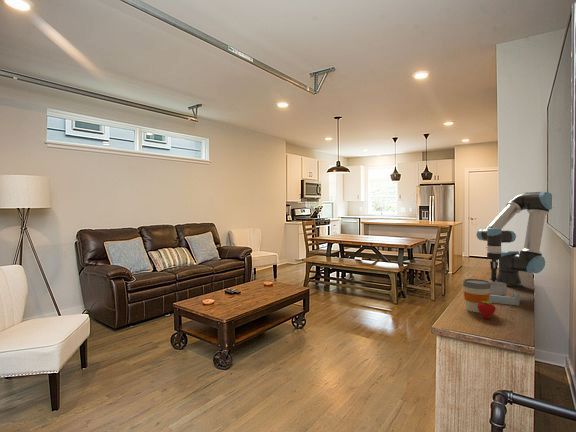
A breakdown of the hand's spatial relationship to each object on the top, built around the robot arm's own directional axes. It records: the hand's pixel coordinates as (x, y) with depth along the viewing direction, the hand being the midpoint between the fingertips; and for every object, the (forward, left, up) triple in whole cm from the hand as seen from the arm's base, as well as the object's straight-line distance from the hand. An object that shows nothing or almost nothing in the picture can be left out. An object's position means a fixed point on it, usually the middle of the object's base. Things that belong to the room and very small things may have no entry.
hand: (493, 290), depth 207 cm
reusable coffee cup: (+45, -10, -2) cm, 46 cm away
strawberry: (+59, -6, -2) cm, 59 cm away
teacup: (+7, 0, -2) cm, 8 cm away
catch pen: (+17, 0, -2) cm, 17 cm away
